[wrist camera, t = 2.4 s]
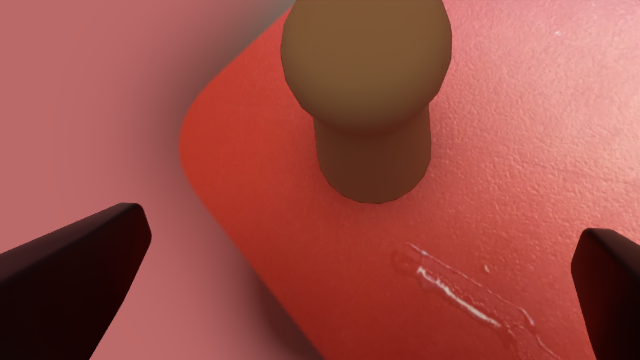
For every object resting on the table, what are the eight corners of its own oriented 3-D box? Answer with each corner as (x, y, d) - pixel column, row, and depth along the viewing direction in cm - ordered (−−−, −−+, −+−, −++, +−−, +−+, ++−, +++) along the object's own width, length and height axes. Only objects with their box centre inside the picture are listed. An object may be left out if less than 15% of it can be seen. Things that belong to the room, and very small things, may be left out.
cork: (451, 176, 20) (524, 59, 10) (341, 221, 20) (295, 156, 10) (402, 79, 22) (417, -110, 11) (301, 122, 22) (226, -23, 12)
